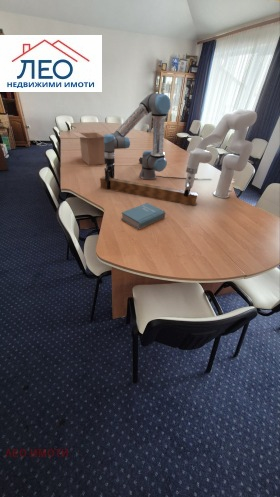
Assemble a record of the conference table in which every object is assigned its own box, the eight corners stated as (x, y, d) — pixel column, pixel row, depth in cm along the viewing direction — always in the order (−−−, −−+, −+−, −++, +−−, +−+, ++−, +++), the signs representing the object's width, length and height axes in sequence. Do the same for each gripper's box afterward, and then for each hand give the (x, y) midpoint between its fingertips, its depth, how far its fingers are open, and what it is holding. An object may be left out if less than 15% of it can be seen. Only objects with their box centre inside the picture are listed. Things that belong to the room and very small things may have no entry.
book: (146, 209, 152) (147, 202, 149) (164, 218, 143) (165, 211, 140) (121, 219, 138) (121, 212, 135) (139, 230, 130) (139, 222, 127)
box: (116, 165, 229) (116, 136, 213) (83, 168, 214) (80, 137, 198) (102, 154, 259) (101, 128, 243) (71, 156, 244) (68, 129, 228)
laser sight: (158, 166, 235) (159, 156, 229) (137, 164, 238) (138, 154, 232) (159, 164, 243) (160, 154, 237) (139, 161, 245) (140, 152, 239)
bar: (100, 187, 178) (100, 178, 174) (103, 185, 182) (103, 176, 178) (194, 205, 162) (197, 195, 157) (195, 203, 166) (198, 193, 161)
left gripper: (109, 161, 157) (109, 192, 171) (118, 155, 171) (118, 184, 185) (99, 159, 158) (100, 190, 172) (109, 154, 172) (110, 183, 186)
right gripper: (195, 174, 143) (190, 199, 153) (198, 168, 157) (193, 191, 167) (184, 172, 145) (179, 197, 155) (188, 166, 159) (183, 189, 169)
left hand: (110, 187), depth 178 cm, fingers closed on bar, 5 cm apart
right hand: (186, 194), depth 161 cm, fingers open, 9 cm apart
